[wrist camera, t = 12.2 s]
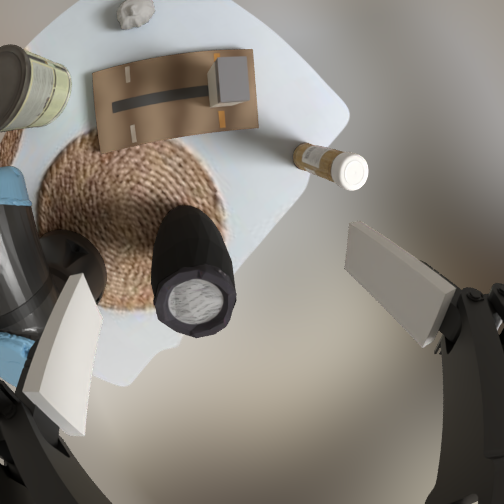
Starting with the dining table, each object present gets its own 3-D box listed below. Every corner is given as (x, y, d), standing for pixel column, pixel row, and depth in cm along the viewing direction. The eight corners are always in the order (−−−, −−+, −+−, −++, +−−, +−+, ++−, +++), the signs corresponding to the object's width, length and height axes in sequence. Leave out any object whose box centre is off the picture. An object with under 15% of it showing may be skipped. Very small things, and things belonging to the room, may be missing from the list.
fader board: (104, 152, 32) (100, 154, 30) (96, 75, 26) (92, 73, 25) (254, 127, 37) (258, 127, 35) (248, 52, 31) (252, 49, 29)
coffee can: (18, 134, 26) (-36, 147, 14) (20, 73, 21) (-31, 65, 9) (72, 119, 28) (25, 121, 16) (74, 55, 24) (33, 30, 11)
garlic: (147, 35, 26) (144, 23, 21) (113, 32, 24) (105, 21, 19) (162, 3, 24) (161, -11, 19) (128, 0, 22) (123, -14, 17)
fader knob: (210, 107, 32) (220, 102, 24) (207, 73, 29) (217, 57, 21) (232, 105, 32) (250, 100, 24) (229, 71, 30) (246, 56, 22)
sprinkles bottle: (300, 175, 42) (347, 198, 30) (287, 151, 39) (333, 166, 28) (322, 160, 42) (374, 179, 30) (310, 137, 39) (362, 147, 28)
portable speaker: (146, 235, 39) (131, 318, 23) (184, 188, 38) (191, 244, 21) (188, 265, 44) (202, 354, 27) (226, 222, 42) (263, 295, 25)
